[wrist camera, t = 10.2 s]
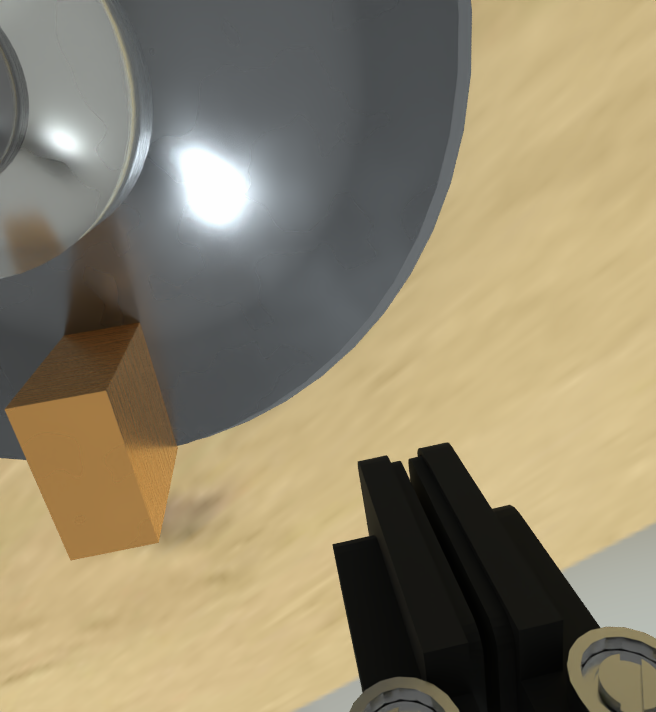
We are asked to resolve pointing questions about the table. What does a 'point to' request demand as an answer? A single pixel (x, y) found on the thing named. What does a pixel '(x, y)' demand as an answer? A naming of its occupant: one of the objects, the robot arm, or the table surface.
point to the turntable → (225, 244)
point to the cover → (67, 123)
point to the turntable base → (434, 207)
